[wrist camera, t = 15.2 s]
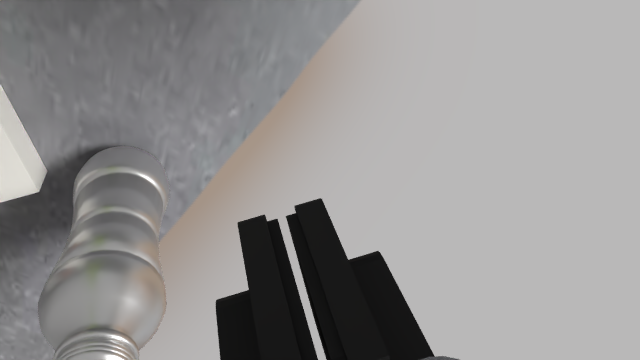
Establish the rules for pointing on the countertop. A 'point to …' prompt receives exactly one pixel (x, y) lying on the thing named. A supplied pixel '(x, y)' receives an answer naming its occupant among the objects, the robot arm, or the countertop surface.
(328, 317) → the robot arm
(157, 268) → the plastic bottle
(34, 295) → the countertop surface
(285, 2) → the countertop surface
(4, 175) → the breaker panel
